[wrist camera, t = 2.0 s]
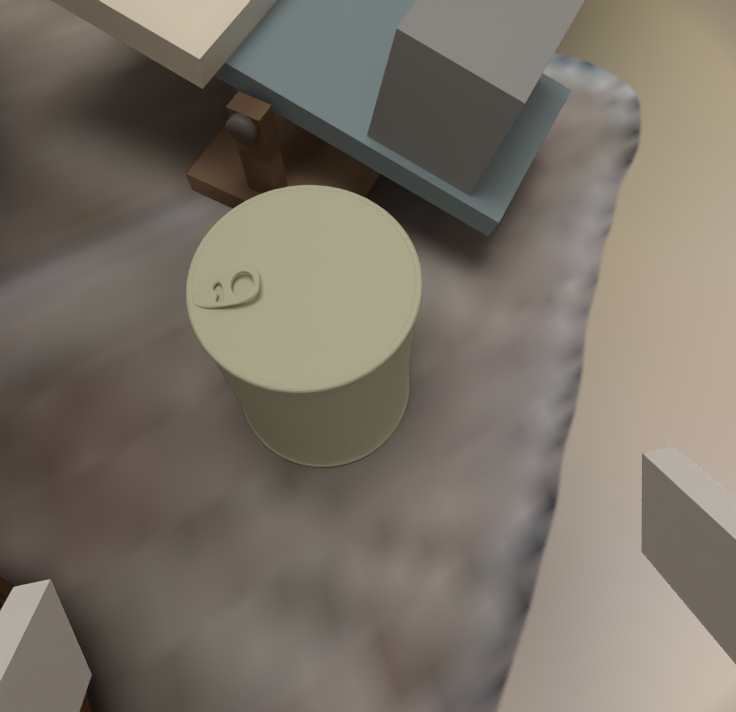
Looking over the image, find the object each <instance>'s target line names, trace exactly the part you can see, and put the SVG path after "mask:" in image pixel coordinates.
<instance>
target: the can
mask: <svg viewBox="0 0 736 712" xmlns="http://www.w3.org/2000/svg"><path fill="white" fill-rule="evenodd" d="M421 299H422V272H421V266H420V262H419V258H418V255H417V252H416V250H415V248H414V245H413V243H412V242H411V240H410V238H409V236H408V235H407V233H406V232H405V230H404V229H403V228H402V226H401V225H400V224H399V223H398V222H397V221H396V220H395V219H394V218H393V217H392V216H391V215H390V214H389V213H388V212H387V211H386V210H384V209H383V208H381V207H380V206H379V205H377V204H375V203H374V202H372V201H370V200H369V199H367V198H365V197H362V196H360V195H358V194H355V193H353V192H350V191H347V190H343V189H339V188H334V187H329V186H319V185H299V186H289V187H284V188H279V189H275V190H271V191H268V192H265V193H262V194H260V195H257V196H255V197H253V198H251V199H249V200H246V201H245V202H243V203H241V204H240V205H238V206H236V207H235V208H233V209H232V210H230V211H229V212H228V213H227V214H225V215H224V216H223V217H222V218H221V219H220V220H219V221H218V222H217V223H216V224H215V225H214V226H213V227H212V228H211V229H210V230H209V232H208V233H207V234H206V236H205V237H204V238H203V240H202V241H201V243H200V245H199V246H198V248H197V250H196V252H195V254H194V257H193V259H192V262H191V265H190V268H189V272H188V276H187V283H186V304H187V311H188V315H189V319H190V323H191V325H192V328H193V330H194V332H195V335H196V337H197V339H198V340H199V342H200V343H201V345H202V346H203V348H204V349H205V351H206V352H207V353H208V354H209V356H210V357H211V358H212V359H213V360H214V361H215V363H216V364H217V366H218V367H219V369H220V371H221V372H222V374H223V375H224V377H225V378H226V380H227V381H228V383H229V385H230V386H231V388H232V390H233V391H234V393H235V395H236V396H237V398H238V400H239V401H240V403H241V405H242V407H243V410H244V413H245V416H246V419H247V421H248V423H249V425H250V427H251V429H252V430H253V432H254V433H255V434H256V436H257V437H258V438H259V439H260V440H261V441H262V443H263V444H264V445H265V446H267V447H268V448H269V449H270V450H272V451H273V452H274V453H276V454H277V455H279V456H281V457H283V458H285V459H287V460H289V461H292V462H294V463H298V464H301V465H306V466H312V467H333V466H339V465H344V464H348V463H351V462H354V461H357V460H359V459H361V458H363V457H365V456H367V455H369V454H370V453H372V452H373V451H375V450H376V449H378V448H379V447H380V446H381V445H382V444H383V443H384V442H385V441H386V440H387V439H388V438H389V437H390V436H391V435H392V434H393V432H394V431H395V429H396V428H397V426H398V425H399V423H400V421H401V419H402V417H403V414H404V412H405V409H406V406H407V402H408V397H409V374H408V371H409V363H410V355H411V348H412V341H413V335H414V329H415V322H416V318H417V315H418V312H419V309H420V305H421Z"/></svg>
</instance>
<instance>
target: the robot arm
mask: <svg viewBox="0 0 736 712" xmlns="http://www.w3.org/2000/svg"><path fill="white" fill-rule="evenodd" d="M642 553H643V554H644V555H645V556H646V557H647V559H648V560H649V561H650V562H651V563H652V564H653V566H654V567H655V568H656V569H657V571H658V572H659V573H660V574H661V575H662V577H663V578H664V579H665V580H666V581H667V582H668V584H669V585H670V586H671V587H672V589H673V590H674V591H675V592H676V593H677V595H678V596H679V597H680V598H681V599H682V600H683V602H684V603H685V604H686V605H687V606H688V608H689V609H690V610H691V611H692V612H693V614H695V616H696V617H697V618H698V620H699V621H700V622H701V623H702V624H703V625H704V627H705V628H706V629H707V630H708V632H709V633H710V634H711V635H712V636H713V638H714V639H715V640H716V641H717V642H718V644H719V645H720V646H721V647H722V648H723V649H724V651H725V652H726V653H727V654H728V655H729V657H730V658H731V659H732V660H733V661H734V663H735V664H736V497H735V496H734V495H733V494H731V493H730V492H729V491H728V490H726V489H725V488H724V487H723V486H722V485H720V484H719V483H718V482H717V481H716V480H715V479H713V478H712V477H711V476H710V475H708V474H707V473H706V472H705V471H704V470H702V469H701V468H700V467H699V466H698V465H696V464H695V463H694V462H693V461H692V460H690V459H689V458H688V457H687V456H686V455H684V454H683V453H682V452H681V451H680V450H678V449H677V448H676V447H675V446H674V447H669V448H664V449H660V450H655V451H650V452H645V453H642ZM91 676H92V674H91V672H90V669H89V667H88V665H87V662H86V660H85V658H84V655H83V653H82V651H81V648H80V646H79V644H78V642H77V639H76V637H75V635H74V632H73V630H72V628H71V625H70V623H69V621H68V618H67V616H66V614H65V611H64V609H63V607H62V604H61V602H60V600H59V597H58V595H57V593H56V590H55V588H54V586H53V584H52V581H51V579H48V580H44V581H39V582H34V583H30V584H25V585H20V586H16V587H13V589H12V591H11V593H10V594H9V596H8V598H7V600H6V601H5V603H4V605H3V607H2V609H1V610H0V712H80V709H81V706H82V703H83V700H84V697H85V694H86V691H87V688H88V685H89V682H90V679H91Z"/></svg>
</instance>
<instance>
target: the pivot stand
mask: <svg viewBox="0 0 736 712" xmlns="http://www.w3.org/2000/svg"><path fill="white" fill-rule="evenodd" d="M226 110H227V113H228V116H229V120H228V121H227V122H226V124H225V125H224V127H223V128H222V129H221V130H220V132H219V133H218V134H217V135H216V137H215V138H214V139H213V140H212V142H211V143H210V144H209V145H208V147H207V148H206V149H205V150H204V152H203V153H202V154H201V155H200V157H199V158H198V159H197V160H196V162H195V163H194V164H193V165H192V167H191V168H190V169H189V170H188V172H187V173H186V175H187V178H188V180H189V182H190V185H191V187H192V189H193V190H195V191H197V192H199V193H202V194H204V195H206V196H208V197H210V198H212V199H215V200H217V201H219V202H221V203H223V204H225V205H228V206H230V207H232V208H235V207H236V206H238V205H240V204H241V203H243V202H245V201H246V200H249V199H251V198H253V197H255V196H257V195H260V194H262V193H265V192H268V191H271V190H275V189H279V188H284V187H289V186H299V185H319V186H329V187H334V188H339V189H343V190H347V191H350V192H353V193H355V194H358V195H360V196H362V197H365V198H366V196H367V195H368V193H369V192H370V190H371V188H372V187H373V185H374V184H375V182H376V181H377V179H378V178H379V176H380V175H381V174H380V173H378V172H377V171H375V170H373V169H372V168H370V167H368V166H367V165H365V164H363V163H361V162H360V161H358V160H356V159H355V158H353V157H351V156H349V155H348V154H346V153H344V152H343V151H341V150H339V149H337V148H336V147H334V146H332V145H331V144H329V143H327V142H326V141H324V140H322V139H320V138H319V137H317V136H315V135H314V134H312V133H310V132H308V131H307V130H305V129H303V128H302V127H300V126H298V125H296V124H295V123H293V122H291V121H290V120H288V119H286V118H285V117H283V116H281V115H279V114H278V113H276V112H274V111H273V110H272V105H270V104H268V103H266V102H263V101H261V100H259V99H256V98H254V97H251V96H249V95H247V94H244V93H242V92H239V91H238V92H237V94H236V95H235V96H234V97H233V99H232V100H231V101H230V102H229V104H228V105H227V106H226Z"/></svg>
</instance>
